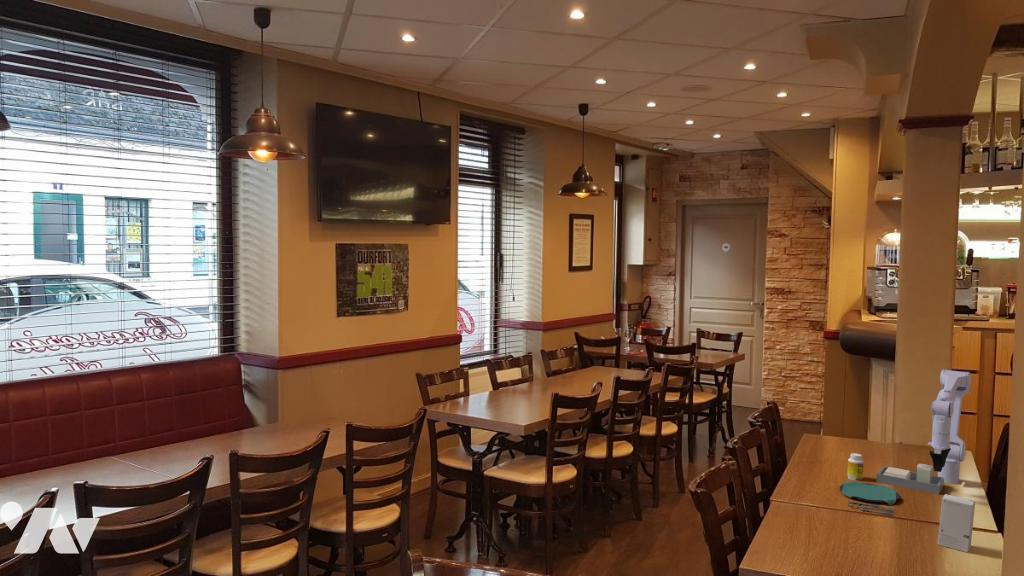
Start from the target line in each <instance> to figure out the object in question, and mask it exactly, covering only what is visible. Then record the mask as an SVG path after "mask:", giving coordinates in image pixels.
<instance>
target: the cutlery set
mask: <svg viewBox="0 0 1024 576" xmlns="http://www.w3.org/2000/svg"><path fill="white" fill-rule="evenodd" d="M839 490H840V492H841V494H842V495H843V496H845V497H848V498H849V499H850V498H853V499H857V500H861V501H864V502H865V501H866V502H871V504H868V503H863V502H858V501H850V500H849V501H847V506H848V507H851V506H852V507H851V508H854V507H855V505H860V504H862V505H861V506H863V507H861V506H856V507H857V508H858V509H860V508H862V509H860V511H859V512H861V511H863V512H864V511H866V512H867V511H869V512H868V513H871V512H874V513H873V514H876V513H877V514H878V515H883V516H891V517H895V514H894V510H895V509H894V507H886V506H881V505H877V504H872V503H887V504H888V505H889V506H892V505H894V504H896V502H897V501H898V500H899V499H900V494H899V493H898V492H897V491H896V490H895V489H893V488H891V487H888V486H885V485H878V484H874V483H873V484H872V483H867V482H859V481H848V482H847V481H845V482H842V484H841V485H840V486H839ZM848 502H851V503H848ZM854 503H857V504H855V505H851V506H850V505H849V504H854ZM866 505H868V507H867V506H866ZM871 506H872V507H871ZM867 508H869V509H867ZM874 510H875V511H874ZM876 510H877V511H876ZM879 510H880V511H879ZM883 511H884V512H883Z"/></svg>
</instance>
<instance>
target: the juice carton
mask: <svg viewBox="0 0 1024 576" xmlns="http://www.w3.org/2000/svg"><path fill="white" fill-rule="evenodd" d="M933 469H934V467H933V465H929V464H926V463H925V464H924V463H918V464H917V465H916V472H917V481H919V482H925V483H930V484H931V483H932V475H933Z"/></svg>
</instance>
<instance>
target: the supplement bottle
mask: <svg viewBox="0 0 1024 576" xmlns="http://www.w3.org/2000/svg"><path fill="white" fill-rule="evenodd" d="M846 472H847V477H846V478H847V479H849V480H852V481H856V482H859V481H863V480H864V479H863V478H864V460H863V457H862V454H860V453H855V452H853V453H852V452H851V453H850V457H849V458H848V459H847V471H846Z"/></svg>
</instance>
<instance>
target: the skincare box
mask: <svg viewBox="0 0 1024 576" xmlns="http://www.w3.org/2000/svg"><path fill="white" fill-rule="evenodd" d="M975 508H976V500H972V499H969V498H964V497H960V496H957V495H956V496H955V495H951V494H947V493H946V494H944V495H943V496H942V500H941V509H940V519H939V529H938V536H937V537H938V538H937V545H938V546H940V547H944V548H948V549H953V550H957V551H961V552H965V553H968V552H969V551H970V549H971V547H972V537H973V530H974V529H973V527H974V519H975Z"/></svg>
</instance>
